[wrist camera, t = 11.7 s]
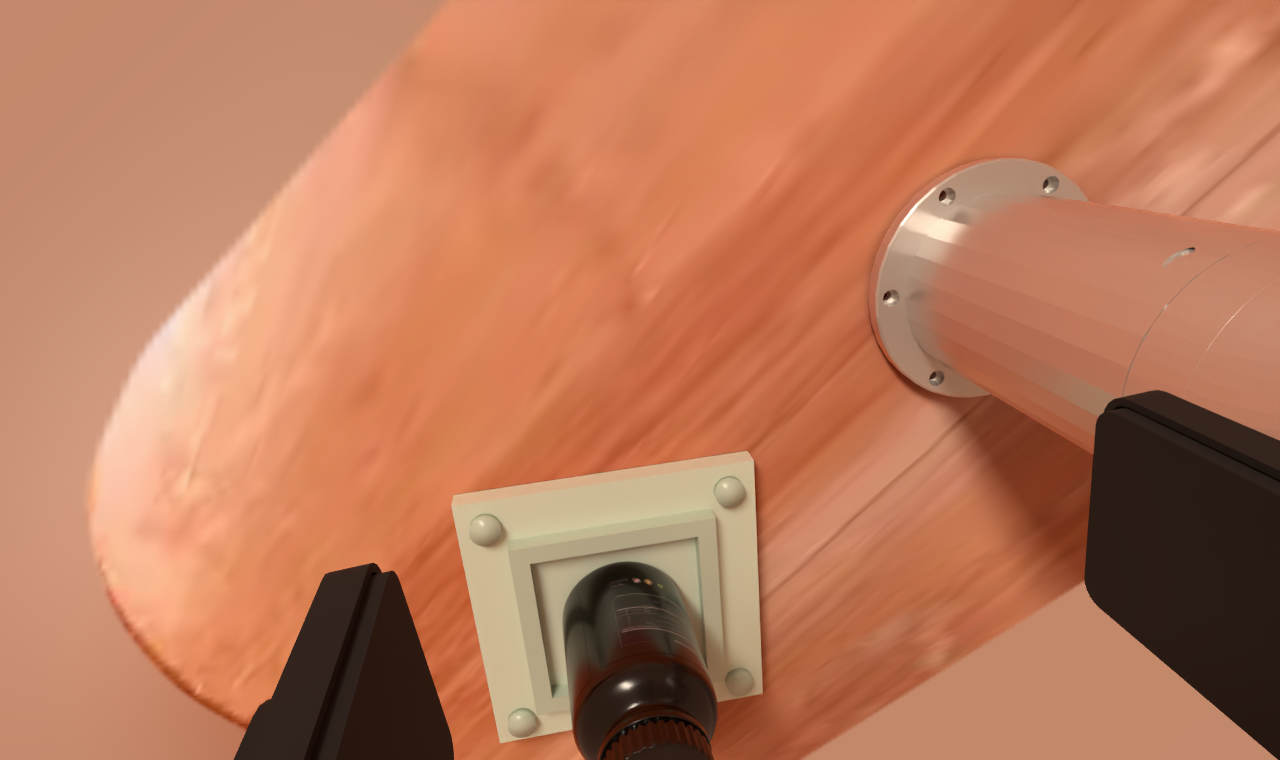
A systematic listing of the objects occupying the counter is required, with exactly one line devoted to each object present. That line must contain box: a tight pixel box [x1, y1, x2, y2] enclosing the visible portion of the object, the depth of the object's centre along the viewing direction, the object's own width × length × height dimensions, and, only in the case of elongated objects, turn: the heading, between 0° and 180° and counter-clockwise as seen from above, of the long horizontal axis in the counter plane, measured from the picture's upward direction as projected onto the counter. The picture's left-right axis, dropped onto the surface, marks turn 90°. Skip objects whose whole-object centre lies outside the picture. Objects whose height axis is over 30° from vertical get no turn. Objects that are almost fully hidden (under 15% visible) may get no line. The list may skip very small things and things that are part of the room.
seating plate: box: [451, 451, 763, 743], centre depth 41 cm, size 16×16×2 cm
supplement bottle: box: [562, 561, 718, 760], centre depth 36 cm, size 7×7×12 cm
